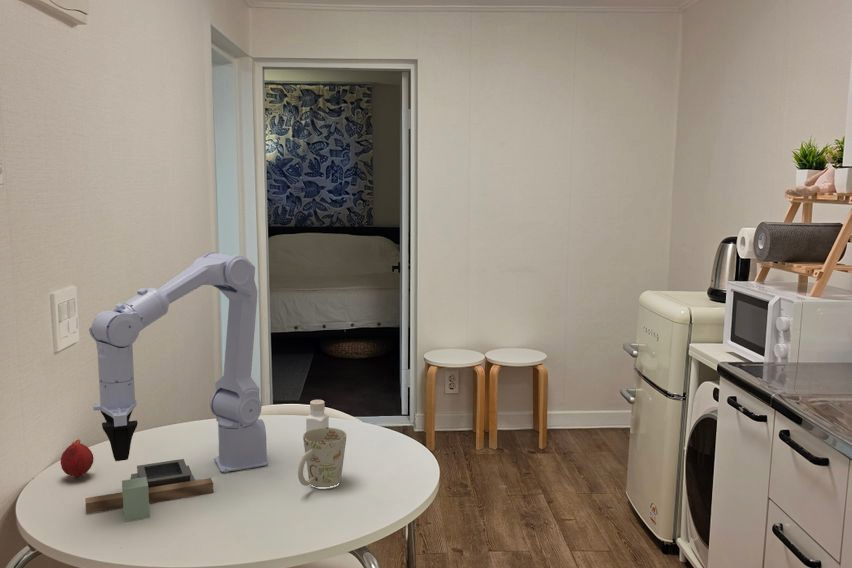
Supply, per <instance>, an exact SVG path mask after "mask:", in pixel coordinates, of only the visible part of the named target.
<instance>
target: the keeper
mask: <svg viewBox="0 0 852 568" xmlns="http://www.w3.org/2000/svg"><path fill="white" fill-rule="evenodd" d="M136 472H137V473H131V474H130V477H131V478H130V479H136V478H142V477H146V479H147V483H148V488H151V487H157V486H163V485H169V484H175V483H182V482H188V481H194V480H196V479H195V477H194V474H193V473H192V470H191V467H190V465H187V464H186V462H185V459H184V458H181V459H174V460H167V461H166V460H165V461H160V462H154V463H147V464H145V463H144V464H140V465H137V466H136Z"/></svg>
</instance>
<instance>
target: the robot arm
mask: <svg viewBox="0 0 852 568" xmlns="http://www.w3.org/2000/svg"><path fill="white" fill-rule="evenodd" d="M255 274H256V266H255V265H254V264H253V263H252V262H251V261H250V260H249V259H248V258H247V257H245V256H243V255H233V254H225V253H218V252H214V251H211V252H207V253H205V254H204V255H202V256H201V257H198V258H195V260H194V261H193V263H192V264H191V265H190V266H188V267H187V268H186V269H184V270H183V271H181V272H180V273H179V274H177V275H176V276H175V277H173V278H171V279H170V280H169V281H168V282H165V284H163V285H162V286H160V287H159V288H154V287H146V288H144V287H141V288H140V289H138V290H137V291H136V292H137V294H136V295H134V296H132V297H131V298H129V299H128V300H126V301H124V302H123V303H122V302H119V303H117V304H116V305H115V306H114V307H115V308H114V309H113V310H103V311H101V312H98V314H97V315H95V317H94V319H93V320H92V322H91V327H88V331H89V334H90V337H91V338H92V339H93V340H94V341H95V343H96V351H97V366H98V385H99V386H98V387H99V388H98V389H99V402H97V403H93V404H92V406H93V407H92V408H93V411H100V413H101V414H102V417H104V420H105V422H101V427H102V430H103V432H104V434H105V435H106V437H107V439H108V441H109V444H110V447H111V452H112V457H113V458H114V459H113V460H114V462H123V461H128V460H129V457H130V453H131V452H130V451H131V445H132V439H133V436H134V433H135V431H136V429H137V427H138V424H139V423H138V419H137V420H130V419H131V415H132V413H133V411H134V409H135V408H136V407H137V400H136V396H135V395H136V393H135V371H134V369H135V368H134V352H133V348H134V346H133V344H134V343H135V342H136V340H137V339H138V337H139V334H140V333H141V331H142V330H144V329H145V328H146V327H148V326H150V325H151V324H153V323H154V322H156V321H157V320H159V319H161V318H162V317H163V316H166V314H168V311H169V306H170V304H172V303H174V302H175V301H177V300H179V299H181V298H183V297H184V296H186V295H187V294H189V293H191V292H193V291H195V290H197V289H198V288H200V287H202V286H212V287H215V288H216V289H218V290H219V291H220V292H221V293H222V294H223V295H224V296H225V297H226V298H227V299H228V310H227V311H228V312H227V323H226V324H227V326H226V327H227V328H226V336H225V337H226V341H225V350H224V363H223V364H224V366H223V375H222V376H221V377H220V378H219V379H218V380H217V381H216V382H215V383H214V391H213V394H212V395H211V397H210V400H209V401H210V402H209V408H210V412H211V413H212V414H213V415H214V416H215V417H216V418H215V419H216V422H217V430H218V431H217V434H218V435H217V436H218V456H214V458H213V459H214V461H215V463H216V465H217V467H218V469H219V471H220V472H221V473H229V472H235V471H240V470H247V469H254V468H261V467H266V466H268V460H267V458H268V456H267V454H268V453H267V451H268V450H267V428H266V425H265V422H264V419H262V418H260V416H261V413H262V401H261V397H260V388H259V386H258V385H257V383H256V382H255V381H254V379H253V377H252V370H253V369H252V368H253V367H252V366H253V357H254V356H253V354H254V343H255V342H254V341H255V331H256V329H255V328H256V319H257V317H256V316H257V305H258V304H257V303H258V289H257V283H256V281H255Z"/></svg>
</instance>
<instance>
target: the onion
mask: <svg viewBox="0 0 852 568" xmlns="http://www.w3.org/2000/svg"><path fill="white" fill-rule="evenodd" d="M94 458H95V457H94V454H93V452H92V451H91V449H90V448H89V447H88V446H87V445H85V444H83V443H81V439H80V438H76V439H74V441H73V442H72V443H71V444H70V445H68V447H66V449H64V451H63V453H61V457H60V466H61V469H62V471H63V473H64V474H66V475H68V476H70V477H72V478H74V479H81V478H82V477H83V476H84V475H86V473H88V471H89V470H90V469H91V468H92V466H93V464H94Z"/></svg>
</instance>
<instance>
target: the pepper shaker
mask: <svg viewBox="0 0 852 568" xmlns="http://www.w3.org/2000/svg"><path fill="white" fill-rule="evenodd" d="M325 402H326V401H324V400H322V399H313V400H311V401H310V402H309V409H310V410H309V411H310V414H308V415H307V417H306V419H305V422H306V423H305V426H306V427H305V428H306V429H305V430H306V431H305V433H306V432H307V431H309V430H312V429H316V428H325V427H328V428H330V426H329V425H330V423H329V422H330V420H329V415H328V414H326V413H325V411H326V410H325V409H326V408H325Z"/></svg>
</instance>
